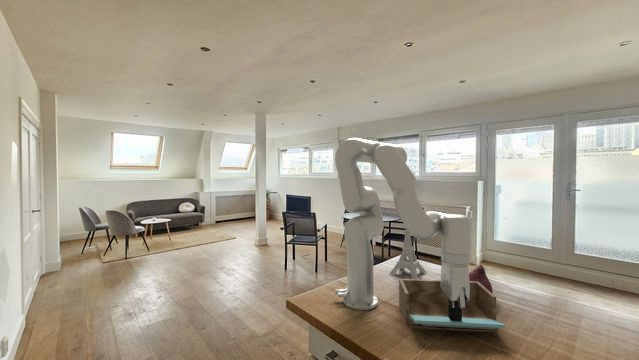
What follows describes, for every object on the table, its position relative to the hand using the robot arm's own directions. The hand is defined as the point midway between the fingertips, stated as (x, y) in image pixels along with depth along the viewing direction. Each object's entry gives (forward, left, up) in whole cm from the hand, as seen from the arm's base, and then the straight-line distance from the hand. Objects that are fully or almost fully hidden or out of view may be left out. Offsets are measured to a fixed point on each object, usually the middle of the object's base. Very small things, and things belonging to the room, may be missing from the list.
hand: (455, 319), depth 80 cm
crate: (0, +10, -4) cm, 11 cm away
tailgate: (0, +4, -3) cm, 5 cm away
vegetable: (+17, +25, -5) cm, 31 cm away
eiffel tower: (-4, +48, -5) cm, 49 cm away
